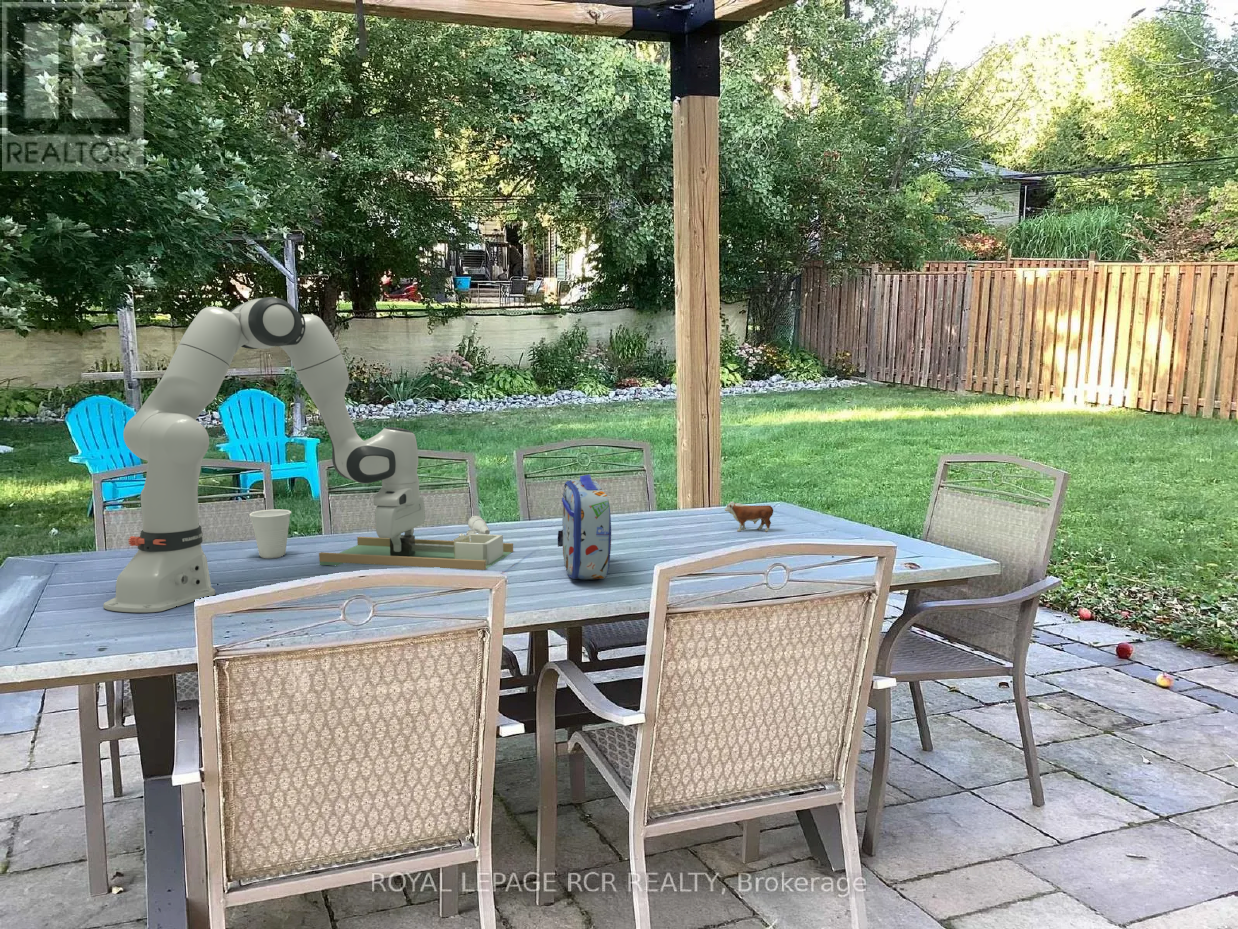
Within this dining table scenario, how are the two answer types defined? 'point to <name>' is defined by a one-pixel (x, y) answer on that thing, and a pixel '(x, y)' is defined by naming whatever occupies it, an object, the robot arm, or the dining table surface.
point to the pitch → (379, 554)
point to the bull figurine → (750, 514)
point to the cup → (271, 531)
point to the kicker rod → (423, 546)
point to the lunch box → (585, 529)
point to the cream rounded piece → (476, 527)
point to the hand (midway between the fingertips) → (402, 549)
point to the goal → (480, 548)
